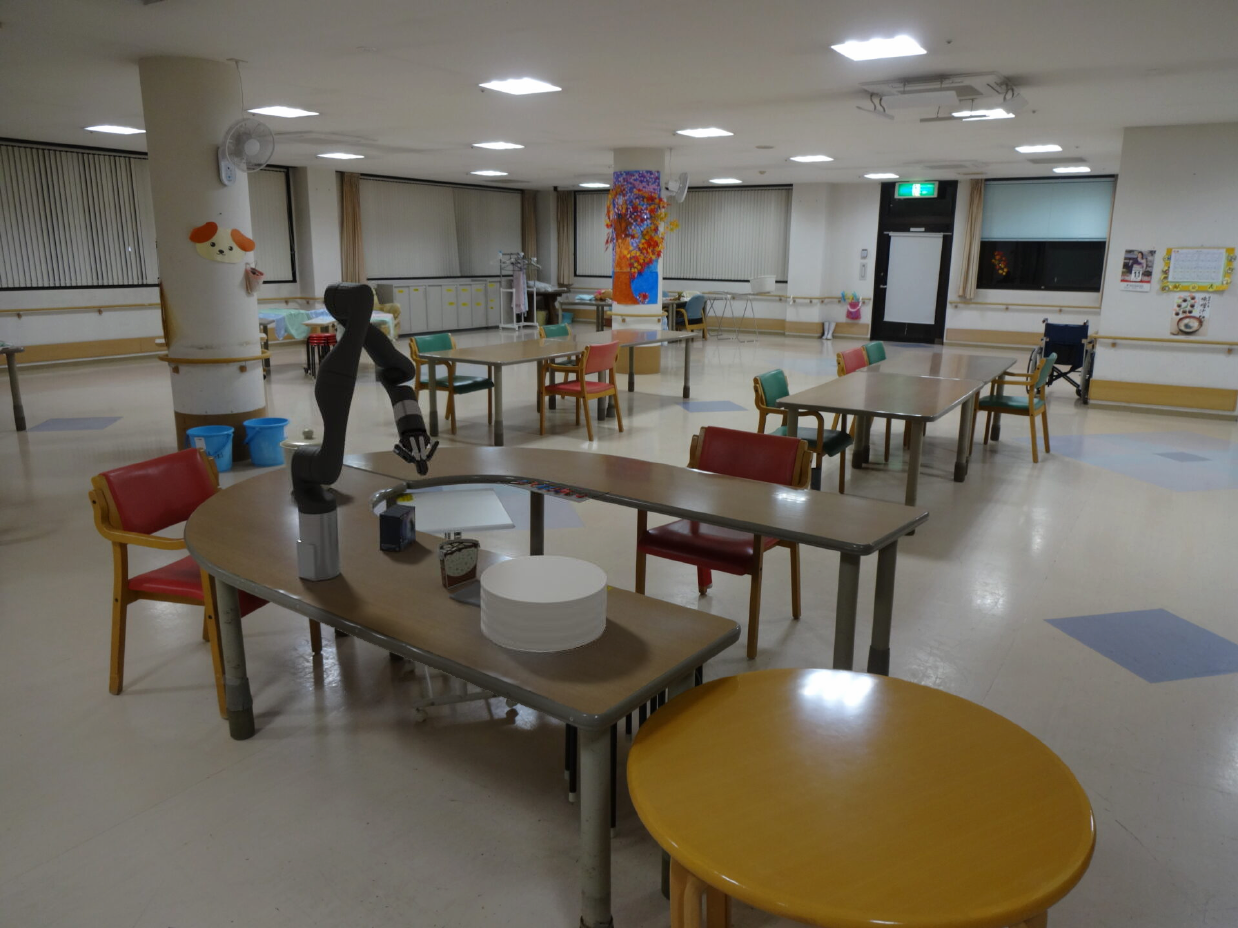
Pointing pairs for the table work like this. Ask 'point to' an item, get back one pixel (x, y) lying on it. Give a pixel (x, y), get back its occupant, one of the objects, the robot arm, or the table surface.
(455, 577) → the cake slice
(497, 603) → the plate stack
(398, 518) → the small box
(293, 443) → the canister
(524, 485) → the gear board
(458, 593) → the rubber mat
